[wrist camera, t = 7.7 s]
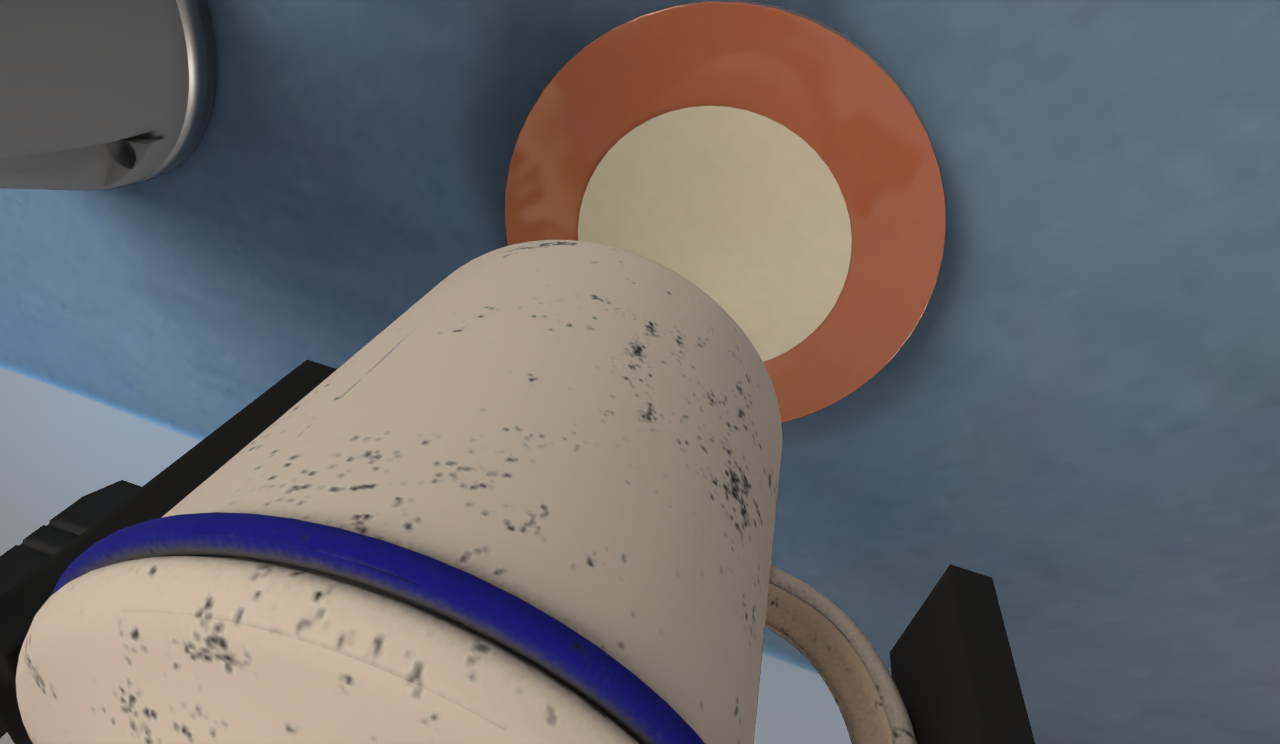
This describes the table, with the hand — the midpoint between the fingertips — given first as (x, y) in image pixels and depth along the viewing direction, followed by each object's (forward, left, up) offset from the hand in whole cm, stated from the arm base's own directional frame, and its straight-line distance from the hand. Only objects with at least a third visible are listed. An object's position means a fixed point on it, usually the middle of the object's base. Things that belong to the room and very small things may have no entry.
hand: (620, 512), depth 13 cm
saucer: (0, 0, -16) cm, 16 cm away
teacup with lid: (0, 0, -3) cm, 3 cm away
